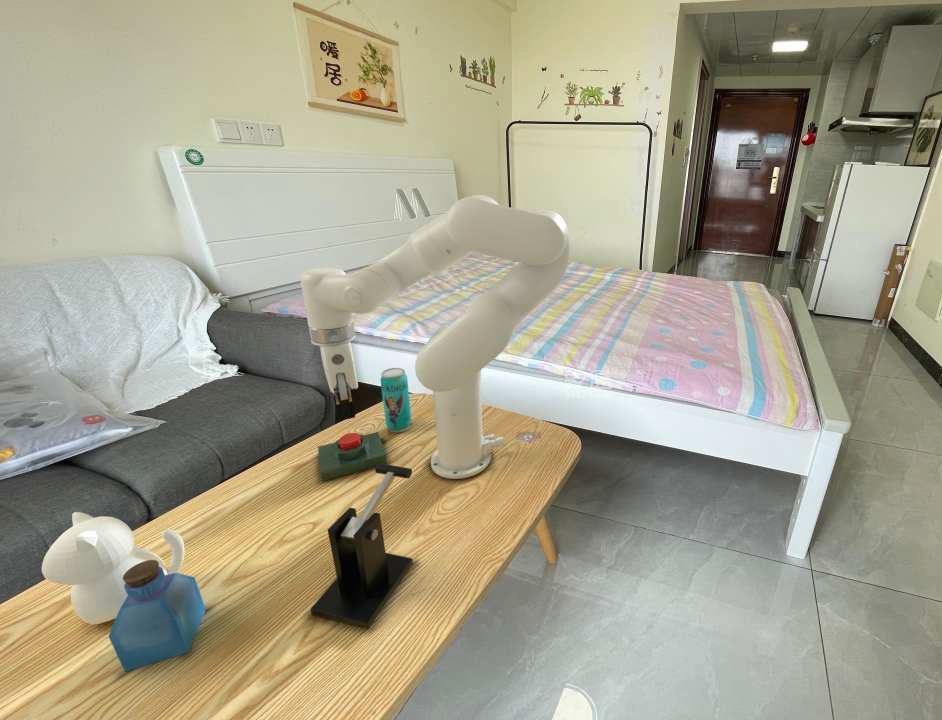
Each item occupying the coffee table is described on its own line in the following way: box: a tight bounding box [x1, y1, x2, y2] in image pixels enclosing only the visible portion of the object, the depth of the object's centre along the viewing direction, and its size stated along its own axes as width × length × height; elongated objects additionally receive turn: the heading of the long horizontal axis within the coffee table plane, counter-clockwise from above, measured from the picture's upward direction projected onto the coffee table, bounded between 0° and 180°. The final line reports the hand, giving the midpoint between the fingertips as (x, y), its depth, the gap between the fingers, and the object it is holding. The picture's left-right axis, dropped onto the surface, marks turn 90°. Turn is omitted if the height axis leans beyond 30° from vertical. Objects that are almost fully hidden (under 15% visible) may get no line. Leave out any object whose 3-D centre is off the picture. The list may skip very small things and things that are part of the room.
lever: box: [341, 463, 413, 545], centre depth 65 cm, size 12×6×2 cm, turn 169°
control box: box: [317, 431, 388, 482], centre depth 93 cm, size 12×10×4 cm
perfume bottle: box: [108, 560, 207, 672], centre depth 55 cm, size 6×6×12 cm
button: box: [338, 432, 361, 450], centre depth 92 cm, size 4×4×2 cm
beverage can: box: [380, 367, 412, 434], centre depth 104 cm, size 6×6×15 cm
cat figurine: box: [41, 511, 185, 625], centre depth 60 cm, size 9×12×15 cm
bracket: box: [309, 507, 414, 630], centre depth 63 cm, size 11×9×13 cm
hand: (345, 414), depth 90 cm, fingers closed
